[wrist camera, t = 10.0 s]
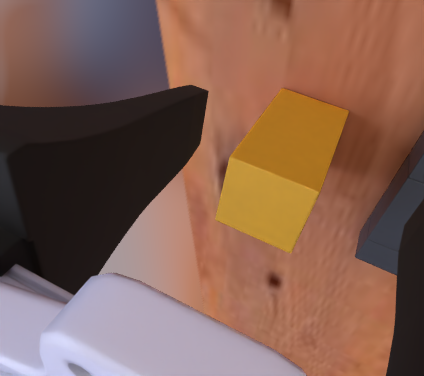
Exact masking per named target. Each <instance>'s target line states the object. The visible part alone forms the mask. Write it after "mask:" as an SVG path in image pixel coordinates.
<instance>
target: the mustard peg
mask: <svg viewBox="0 0 424 376" xmlns="http://www.w3.org/2000/svg"><path fill="white" fill-rule="evenodd" d="M348 114H349V111H348V110H345V109H342V108H339V107H336V106H333V105H330V104H327V103H325V102H322V101H319V100H316V99H313V98H310V97H307V96H304V95H301V94H299V93H296V92H293V91H290V90H287V89H284V88H282V89H281V90H280V91H279V93H278V94H277V95H276V97H275V98H274V99H273V101H272V102H271V103H270V104H269V106H268V107H267V108H266V110H265V111H264V112H263V114H262V115H261V116H260V118H259V119H258V120H257V122H256V123H255V124H254V126H253V127H252V128H251V130H250V131H249V132H248V133H247V135H246V136H245V137H244V139H243V140H242V141H241V143H240V144H239V145H238V147H237V148H236V149H235V151H234V152H233V153H232V155H231V156H230V158H229V162H228V166H227V171H226V175H225V179H224V184H223V188H222V192H221V197H220V201H219V205H218V209H217V214H216V218H215V220H217V221H219V222H221V223H223V224H226V225H228V226H230V227H232V228H234V229H237V230H239V231H241V232H243V233H246V234H248V235H250V236H252V237H255V238H257V239H259V240H261V241H264V242H266V243H268V244H270V245H273V246H275V247H277V248H279V249H281V250H284V251H286V252H288V253H292V251H293V249H294V247H295V244H296V242H297V240H298V238H299V236H300V234H301V232H302V230H303V228H304V225H305V223H306V221H307V219H308V217H309V215H310V213H311V211H312V209H313V206H314V204H315V202H316V200H317V198H318V196H319V194H320V191H321V189H322V186H323V183H324V180H325V177H326V175H327V172H328V169H329V166H330V164H331V161H332V158H333V155H334V153H335V150H336V147H337V144H338V142H339V139H340V136H341V133H342V130H343V128H344V125H345V122H346V119H347V117H348Z"/></svg>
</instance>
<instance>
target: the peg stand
mask: <svg viewBox="0 0 424 376" xmlns="http://www.w3.org/2000/svg"><path fill="white" fill-rule="evenodd" d="M423 199H424V131H423V133H422V135H421V136H420V138H419V139H418V141H417V142H416V144H415V146H414V147H413V149H412V150H411V152H410V154H409V155H408V157H407V158H406V160H405V161H404V163H403V164H402V166H401V168H400V169H399V171H398V172H397V174H396V176H395V177H394V179H393V180H392V182H391V183H390V185H389V187H388V188H387V190H386V191H385V193H384V195H383V196H382V198H381V199H380V201H379V202H378V204H377V206H376V207H375V209H374V210H373V212H372V214H371V215H370V217H369V218H368V220H367V221H366V223H365V225H364V226H363V228H362V229H361V231H360V234H359V239H358V244H357V249H356V254H355V257H356V258H358V259H360V260H362V261H365V262H367V263H369V264H372V265H374V266H376V267H379V268H381V269H383V270H386V271H388V272H390V273H393V274H395V275H397V268H398V253H399V247H400V242H401V238H402V234H403V229H404V225H405V224H406V222H407V221H408V220H409V218H410V217H411V215H412V214H413V213H414V211H415V210H416V209H417V207H418V206H419V205H420V203H421V202H422V200H423Z"/></svg>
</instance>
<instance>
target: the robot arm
mask: <svg viewBox="0 0 424 376" xmlns="http://www.w3.org/2000/svg"><path fill="white" fill-rule="evenodd" d="M207 98H208V91H207V90H204V89H202V88H199V87H196V86H193V85H187V86H182V87H177V88H173V89H169V90H165V91H161V92H157V93H153V94H149V95H145V96H141V97H136V98H130V99H126V100H121V101H116V102H110V103H103V104H95V105H86V106H70V107H18V106H17V107H16V106H3V105H0V376H307V375H306V374H305V372H304V371H303V370H302V368H300V367H299V366H297V365H296V364H294V363H293V362H292V361H290V360H289V359H287V358H286V357H284V356H283V355H281V354H280V353H279V352H277V351H276V350H274V349H272V348H270V347H268V346H266V345H265V344H263V343H261V342H259V341H257V340H255V339H253V338H251V337H249V336H247V335H245V334H243V333H241V332H239V331H237V330H235V329H233V328H231V327H229V326H227V325H225V324H223V323H221V322H220V321H218V320H216V319H214V318H212V317H210V316H208V315H206V314H204V313H202V312H200V311H198V310H196V309H194V308H192V307H190V306H188V305H186V304H184V303H182V302H180V301H178V300H176V299H175V298H173V297H170V296H169V295H167V294H164V293H163V292H161V291H159V290H157V289H155V288H153V287H151V286H149V285H147V284H145V283H143V282H141V281H139V280H136V279H133V278H129V277H126V276H123V275H120V274H117V273H107V274H102V275H98V274H99V272H100V271H101V269H102V268H103V266H104V265H105V263H106V261H107V260H108V259H109V257H110V256H111V254H112V253H113V251H114V250H115V248H116V247H117V246H118V244H119V243H120V241H121V240H122V238H123V237H124V236H125V234H126V233H127V231H128V230H129V229H130V227H131V226H132V225H133V223H134V222H135V221H136V219H137V218H138V217H139V215H140V214H141V213H142V211H143V210H144V209H145V208H146V207H147V206H148V205H149V203H150V202H151V201H152V200H153V199H154V198H155V197H156V196H157V195H158V194H159V193H160V192H161V191H162V190H163V189H164V188H165V187H166V185H167V184H168V183H169V182H170V181H171V180H172V179H173V178H174V177H175V176H176V174H178V172H179V171H180V170H181V169H182V168H183V167H184V166H185V165H186V164H187V162H188V161H189V159H190V158H191V157H192V155H193V154H194V152H195V151H196V149H197V148H198V146H199V144H200V142H201V135H202V129H203V123H204V116H205V110H206V104H207ZM386 376H424V199H423V200H422V202H421V203H420V205H419V206H418V207H417V209H416V210H415V211H414V213H413V214H412V215H411V217H410V218H409V220H408V221H407V222H406V224H405V225H404V229H403V234H402V238H401V242H400V247H399V253H398V268H397V290H396V313H395V326H394V335H393V340H392V346H391V352H390V358H389V363H388V368H387V373H386Z"/></svg>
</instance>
